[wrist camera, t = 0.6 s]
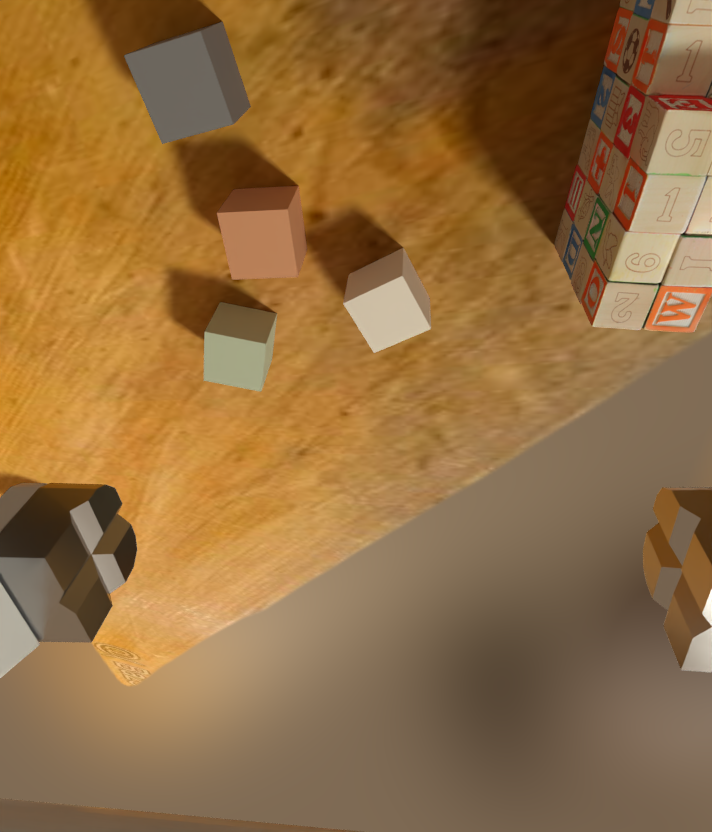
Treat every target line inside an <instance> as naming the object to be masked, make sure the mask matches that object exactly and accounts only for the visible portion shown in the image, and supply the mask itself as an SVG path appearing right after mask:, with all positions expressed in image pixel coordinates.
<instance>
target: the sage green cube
mask: <svg viewBox="0 0 712 832" xmlns="http://www.w3.org/2000/svg"><path fill="white" fill-rule="evenodd" d="M276 319H277V313H272V312H267V311H263V310H258V309H253V308H248V307H243V306H238V305H233V304H228V303H223V302H220V303H219V305H218V307H217V309H216V311H215V313H214V315H213V317H212V319H211V320H210V322H209V324H208V326H207V328H206V330H205V333H204V381H209V382H214V383H219V384H225V385H230V386H235V387H240V388H245V389H250V390H256V391H262V388H263V385H264V382H265V379H266V376H267V373H268V370H269V367H270V364H271V361H272V355H273V346H274V337H275V328H276Z"/></svg>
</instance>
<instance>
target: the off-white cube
mask: <svg viewBox="0 0 712 832" xmlns="http://www.w3.org/2000/svg"><path fill="white" fill-rule="evenodd" d="M343 304H344V306H345V307H346V309H347V310H348V312H349V314H350V315H351V317H352V318H353V320H354V322H355V323H356V325H357V326H358V328H359V330H360V331H361V333H362V334H363V336H364V338H365V339H366V341H367V342H368V344H369V346H370V347H371V349H372V350H373V352H374V353H375V352H378V351H380V350H383V349H385V348H387V347H390V346H392V345H394V344H397V343H399V342H401V341H404V340H406V339H409V338H411V337H413V336H416V335H418V334H420V333H423V332H425V331H427V330H430V329H431V314H430V298H429V296H428V294H427V292H426V290H425V288H424V286H423V284H422V282H421V280H420V279H419V277H418V275H417V273H416V271H415V269H414V267H413V265H412V263H411V261H410V259H409V258H408V256H407V254H406V252H405V250H404V248H402V249H400V250H397V251H395V252H393V253H391V254H389V255H387V256H385V257H383V258H381V259H379V260H377V261H375V262H373V263H371V264H369V265H367V266H365V267H363V268H361V269H359V270H357V271H355V272H353V273H351V274H349V276H348V281H347V286H346V291H345V297H344V302H343Z"/></svg>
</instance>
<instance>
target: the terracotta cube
mask: <svg viewBox="0 0 712 832" xmlns="http://www.w3.org/2000/svg"><path fill="white" fill-rule="evenodd" d="M217 216H218V221H219V225H220V229H221V233H222V238H223V242H224V246H225V251H226V255H227V259H228V263H229V268H230V272H231V276H232V279H259V278H286V277H298V275H299V272H300V270H301V267H302V264H303V261H304V258H305V255H306V252H307V244H306V236H305V229H304V222H303V215H302V207H301V200H300V193H299V186H283V187H264V188H246V189H233V191H232V192H231V194H230V195H229V196H228V198H227V199H226V201H225V202H224V203H223V205H222V206H221V208H220V209H219V210H218V212H217Z"/></svg>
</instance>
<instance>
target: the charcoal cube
mask: <svg viewBox="0 0 712 832" xmlns="http://www.w3.org/2000/svg"><path fill="white" fill-rule="evenodd" d="M124 57H125V59H126V62H127V64H128V66H129V69H130V71H131V73H132V75H133V78H134V80H135V82H136V85H137V87H138V89H139V92H140V94H141V96H142V98H143V101H144V103H145V105H146V108H147V110H148V112H149V115H150V117H151V119H152V121H153V124H154V126H155V128H156V131H157V133H158V135H159V138H160V140H161V142H162V144H163V143H167V142H171V141H174V140H178V139H182V138H185V137H189V136H193V135H196V134H200V133H204V132H207V131H211V130H214V129H218V128H222V127H225V126H229V125H233V124H234V123H235V122H236V121H237V120H238V119H239V118H240V117H241V116H242V115H243V114H244V113H245V112H246V111H247V110H248V109H249V108H250V107H251V106H250V103H249V100H248V97H247V94H246V91H245V88H244V85H243V82H242V79H241V76H240V73H239V70H238V67H237V64H236V61H235V58H234V55H233V52H232V49H231V46H230V43H229V40H228V37H227V34H226V31H225V28H224V25H223V22H220V23H216V24H213V25H210V26H207V27H204V28H201V29H198V30H194V31H191V32H188V33H185V34H182V35H179V36H176V37H172V38H169V39H166V40H163V41H160V42H157V43H154V44H151V45H148V46H146V47H144V48H141V49H139V50H136V51H134V52H131V53H129V54H126V55H124Z"/></svg>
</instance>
